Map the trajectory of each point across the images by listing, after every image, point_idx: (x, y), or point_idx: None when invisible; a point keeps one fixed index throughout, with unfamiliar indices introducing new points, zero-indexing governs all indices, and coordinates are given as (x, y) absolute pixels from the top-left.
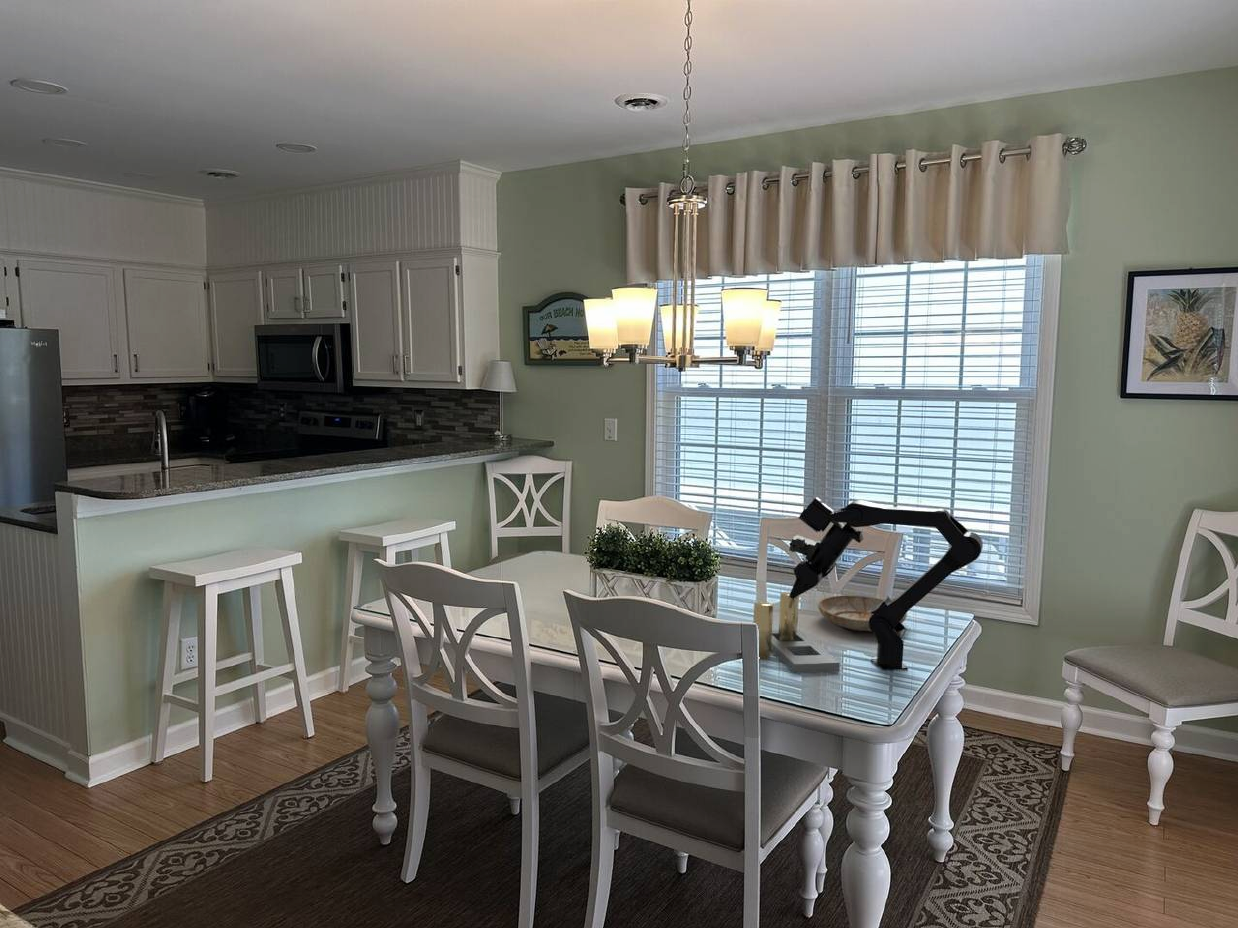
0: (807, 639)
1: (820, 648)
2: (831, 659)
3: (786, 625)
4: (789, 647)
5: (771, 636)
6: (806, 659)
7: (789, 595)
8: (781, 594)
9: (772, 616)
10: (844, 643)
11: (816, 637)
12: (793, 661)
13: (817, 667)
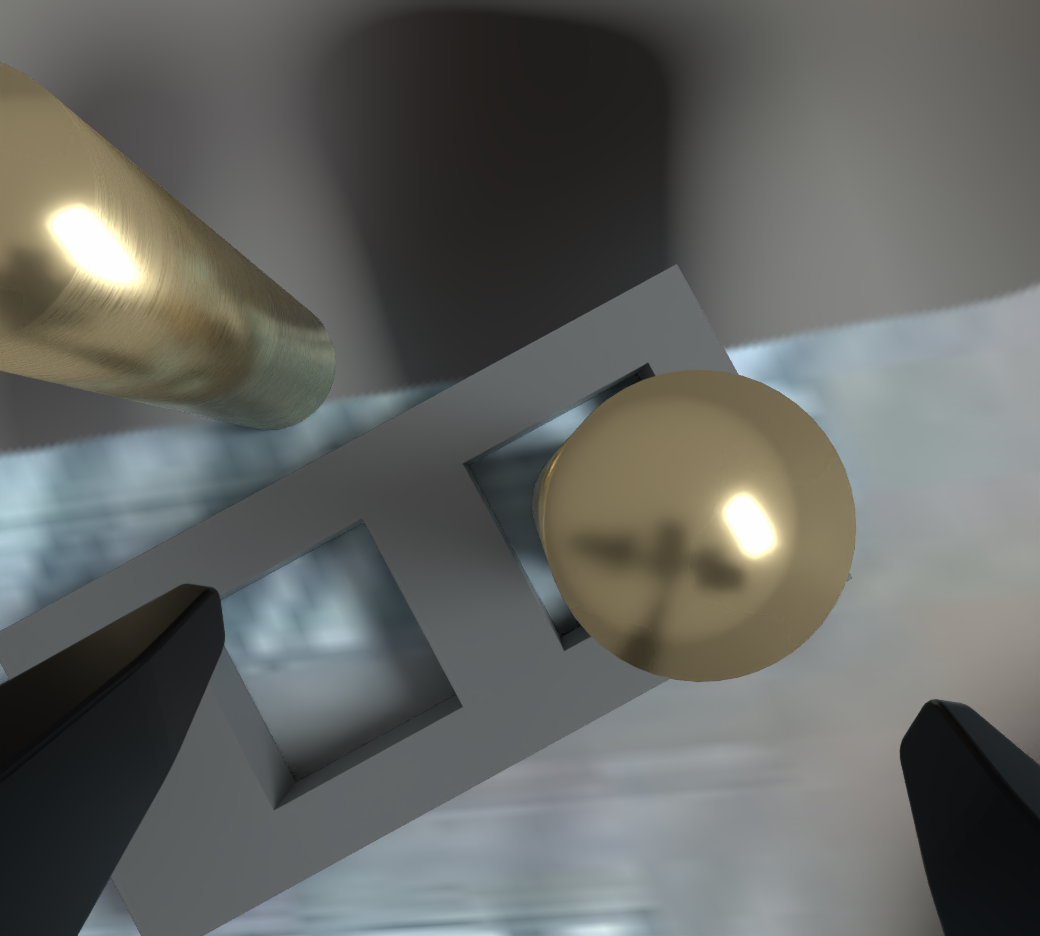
0: (613, 668)
1: (429, 790)
2: (202, 894)
3: (535, 503)
4: (381, 550)
5: (183, 411)
6: None
7: (178, 588)
8: (650, 390)
9: (52, 380)
10: (813, 917)
11: (871, 697)
12: (46, 622)
13: None
